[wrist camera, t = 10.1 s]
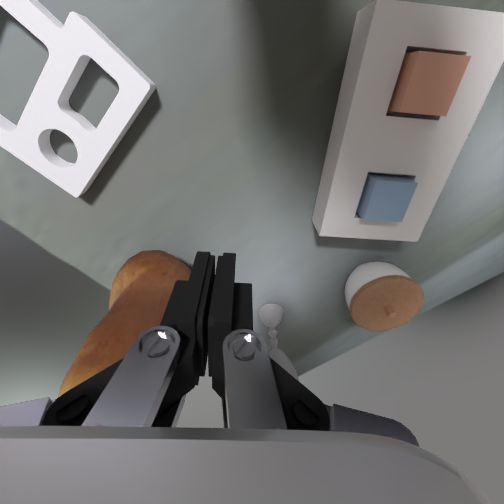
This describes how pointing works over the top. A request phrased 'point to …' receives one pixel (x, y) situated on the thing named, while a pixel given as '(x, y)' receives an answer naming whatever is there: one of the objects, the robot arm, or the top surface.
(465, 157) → the top surface
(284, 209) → the top surface
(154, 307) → the butternut squash
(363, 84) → the key panel
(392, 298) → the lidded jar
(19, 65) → the top surface
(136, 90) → the holder
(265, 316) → the chalice
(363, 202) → the slate-blue key
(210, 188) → the top surface
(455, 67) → the terracotta key
